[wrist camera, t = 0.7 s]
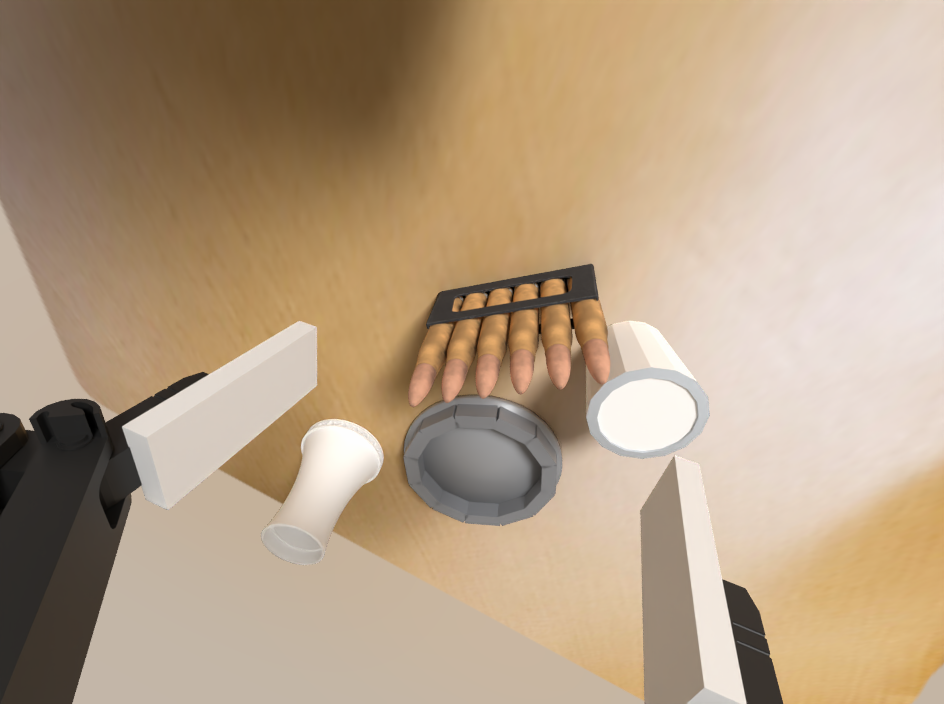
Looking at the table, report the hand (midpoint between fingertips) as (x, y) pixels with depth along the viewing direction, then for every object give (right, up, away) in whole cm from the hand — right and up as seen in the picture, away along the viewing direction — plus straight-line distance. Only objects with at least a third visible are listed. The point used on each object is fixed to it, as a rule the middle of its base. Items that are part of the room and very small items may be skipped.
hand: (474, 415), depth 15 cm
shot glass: (+11, +2, +16) cm, 19 cm away
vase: (-12, -7, +25) cm, 29 cm away
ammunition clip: (+3, +7, +14) cm, 16 cm away
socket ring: (+1, -7, +23) cm, 24 cm away
